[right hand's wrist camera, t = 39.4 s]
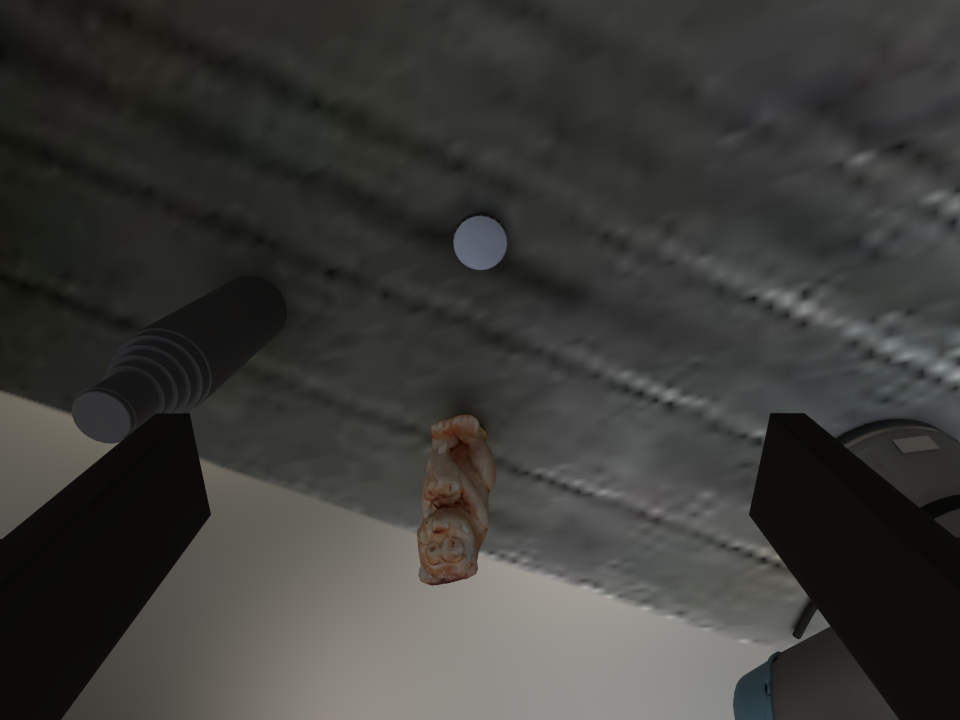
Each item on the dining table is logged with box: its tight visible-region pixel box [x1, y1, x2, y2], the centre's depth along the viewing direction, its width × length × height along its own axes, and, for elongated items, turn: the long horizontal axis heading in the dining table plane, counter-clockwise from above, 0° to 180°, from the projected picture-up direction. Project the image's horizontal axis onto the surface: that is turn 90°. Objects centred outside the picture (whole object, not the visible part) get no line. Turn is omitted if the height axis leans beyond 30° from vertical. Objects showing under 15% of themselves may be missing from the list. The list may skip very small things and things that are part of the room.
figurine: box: [417, 415, 496, 585], centre depth 42 cm, size 6×8×15 cm
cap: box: [453, 213, 508, 270], centre depth 42 cm, size 4×4×2 cm
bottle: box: [72, 277, 286, 444], centre depth 36 cm, size 5×5×20 cm
